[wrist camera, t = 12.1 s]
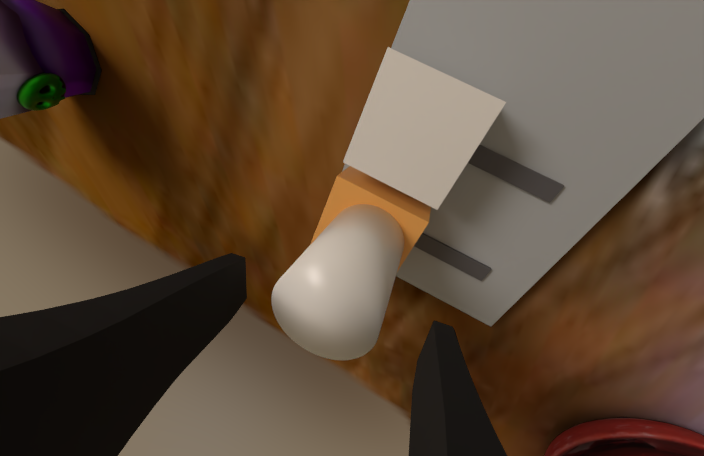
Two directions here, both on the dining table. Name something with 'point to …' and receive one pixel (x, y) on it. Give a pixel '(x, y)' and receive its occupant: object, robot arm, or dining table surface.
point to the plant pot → (626, 439)
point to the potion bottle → (42, 57)
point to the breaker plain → (419, 128)
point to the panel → (548, 129)
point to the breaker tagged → (371, 191)
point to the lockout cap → (341, 284)
